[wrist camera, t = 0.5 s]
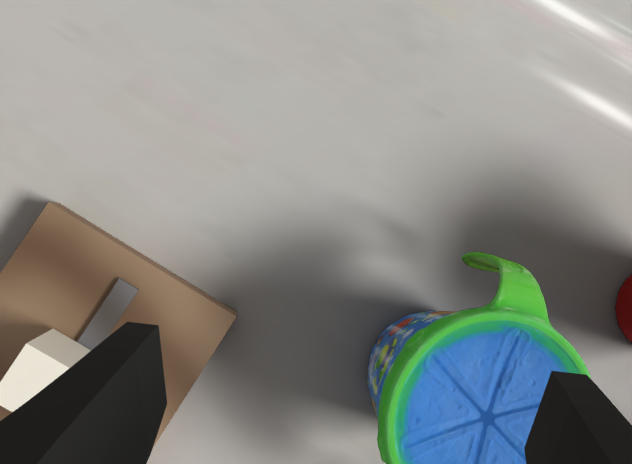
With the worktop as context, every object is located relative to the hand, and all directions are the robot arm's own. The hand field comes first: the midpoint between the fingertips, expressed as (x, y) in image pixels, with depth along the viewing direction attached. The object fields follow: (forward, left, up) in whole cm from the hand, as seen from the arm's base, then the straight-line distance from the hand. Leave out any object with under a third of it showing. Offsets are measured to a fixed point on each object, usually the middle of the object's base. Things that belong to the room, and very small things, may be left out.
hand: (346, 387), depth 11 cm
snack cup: (0, -12, -24) cm, 27 cm away
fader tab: (-10, +6, -22) cm, 24 cm away
